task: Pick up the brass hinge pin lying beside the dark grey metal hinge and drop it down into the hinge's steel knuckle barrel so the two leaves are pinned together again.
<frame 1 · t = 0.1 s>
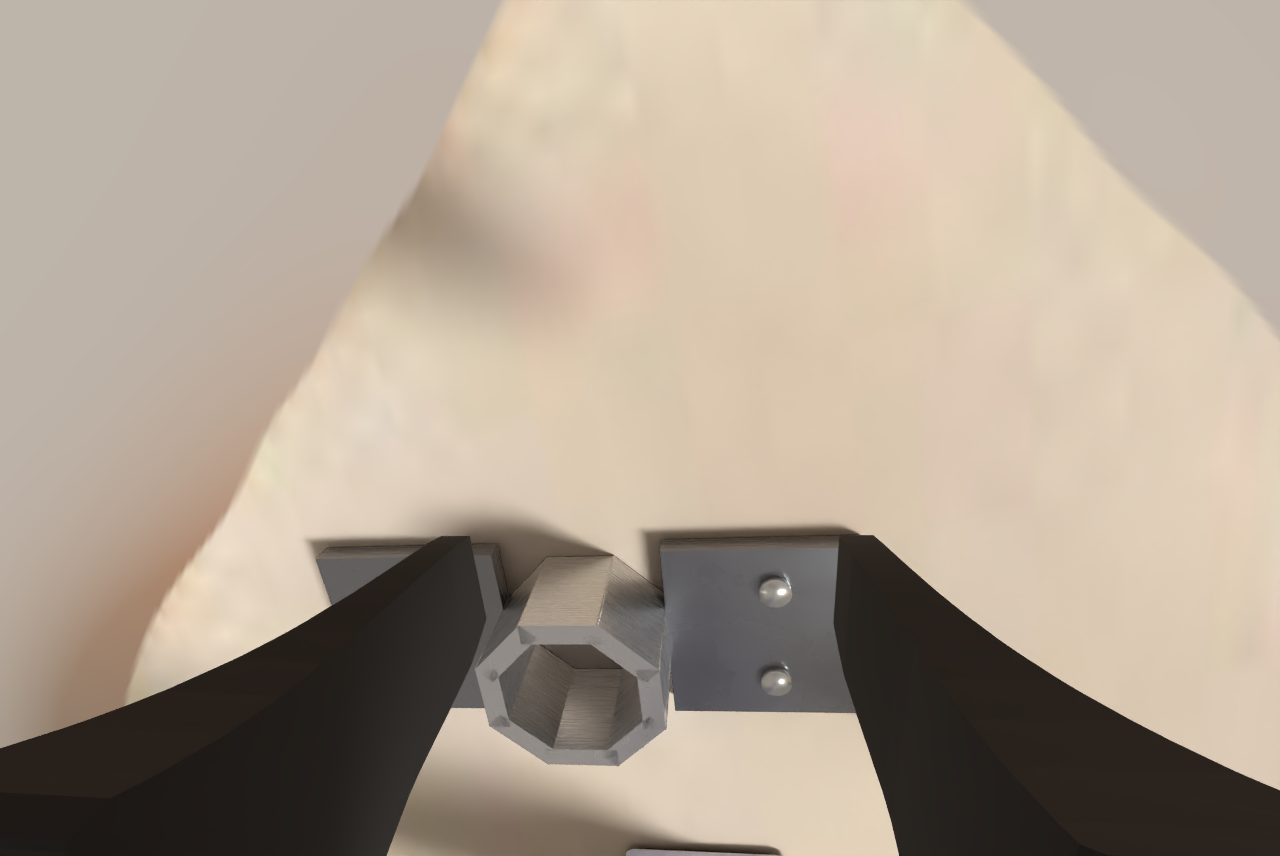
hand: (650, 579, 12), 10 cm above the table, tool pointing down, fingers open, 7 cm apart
hinge: (590, 622, 25), on the table
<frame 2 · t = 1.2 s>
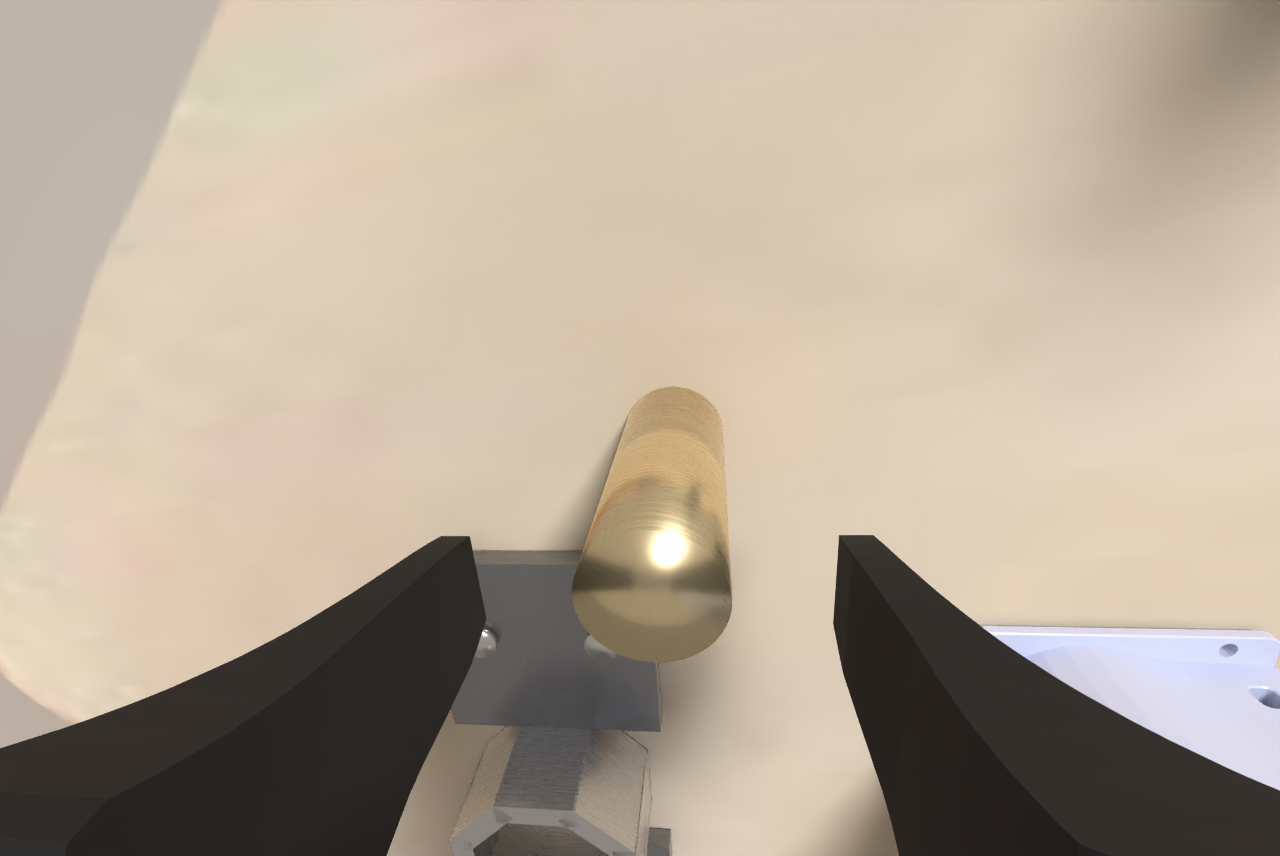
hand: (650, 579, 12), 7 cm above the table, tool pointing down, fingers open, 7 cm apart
hinge: (569, 770, 25), on the table
hinge pin: (673, 433, 19), on the table
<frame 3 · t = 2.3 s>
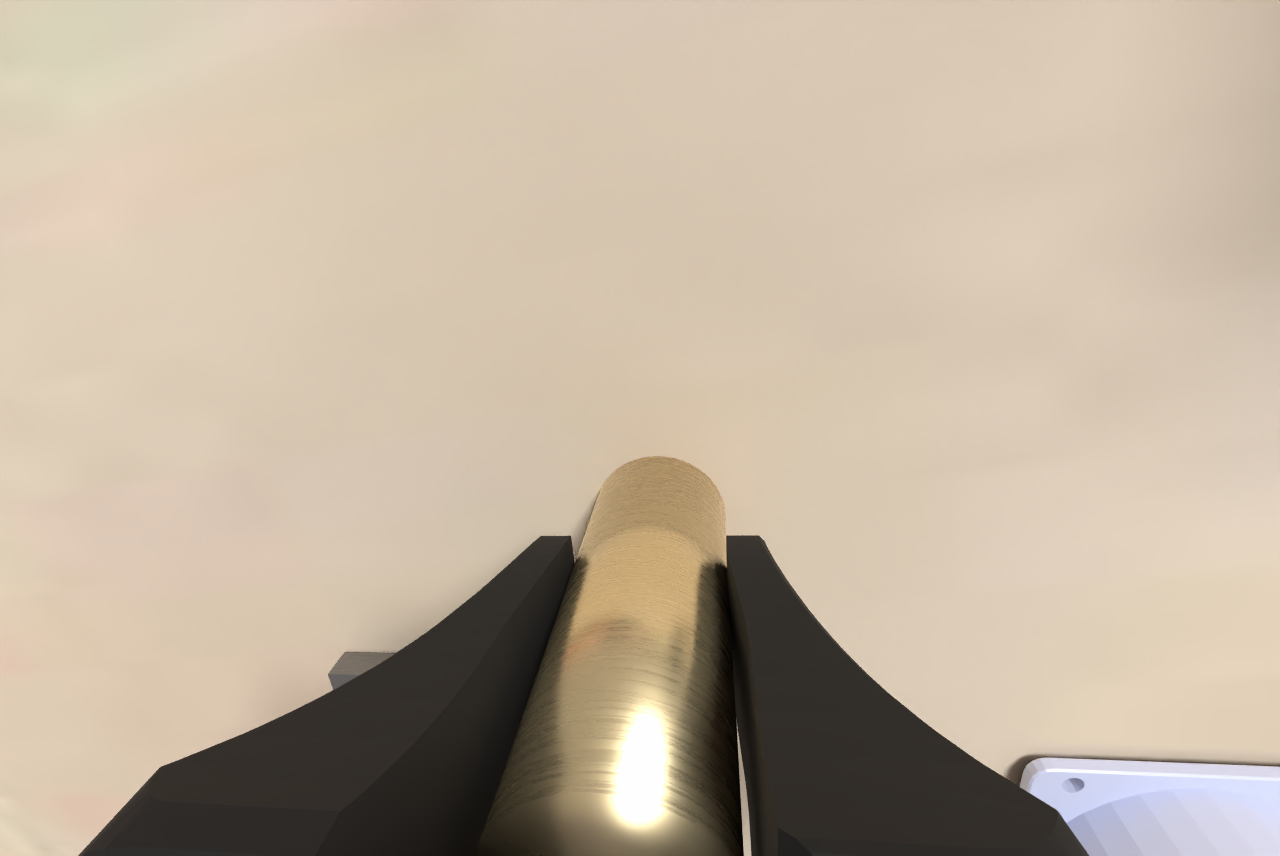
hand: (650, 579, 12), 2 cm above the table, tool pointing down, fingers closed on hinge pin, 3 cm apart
hinge pin: (659, 515, 14), on the table, touching gripper
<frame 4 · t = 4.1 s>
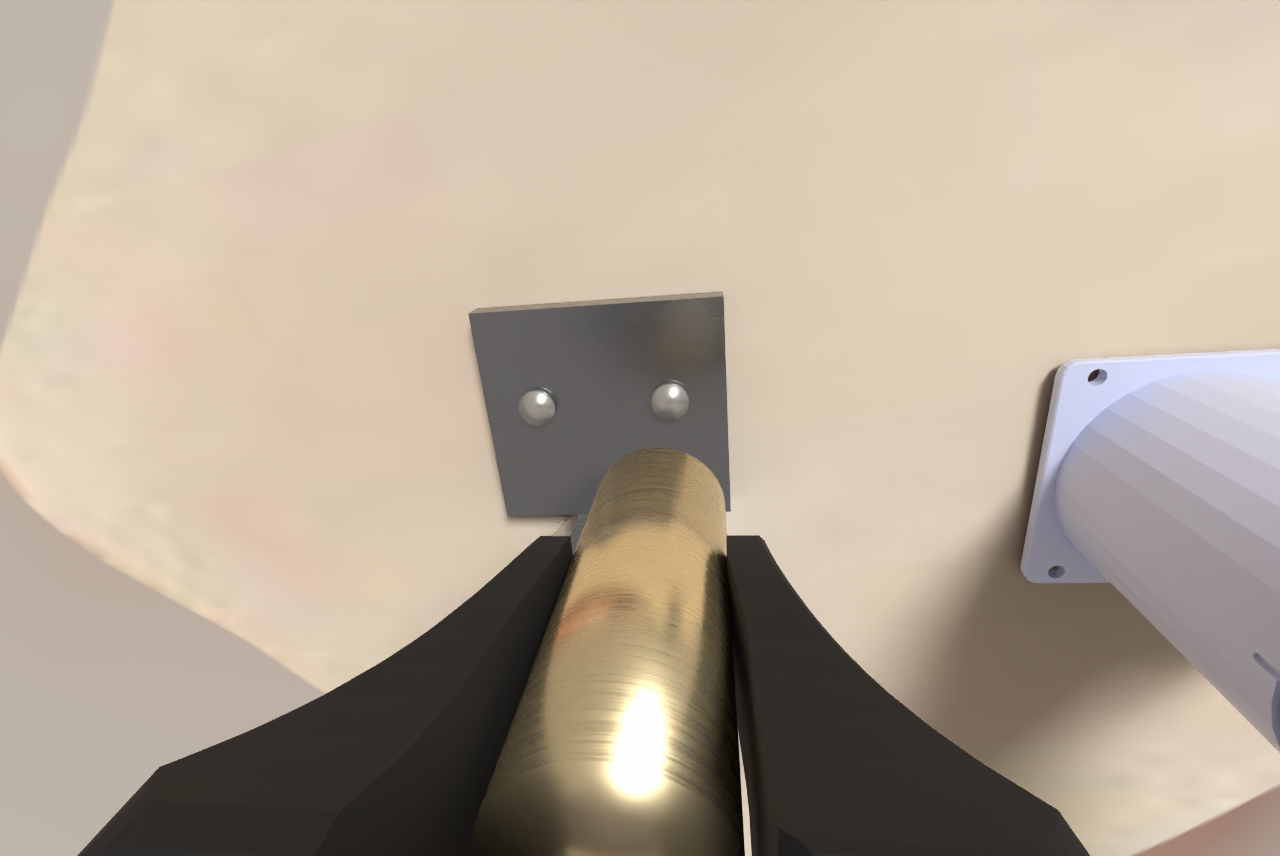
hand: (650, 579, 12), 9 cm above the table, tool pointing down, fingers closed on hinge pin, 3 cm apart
hinge: (627, 577, 23), on the table
hinge pin: (660, 506, 14), point 7 cm above the table, touching gripper
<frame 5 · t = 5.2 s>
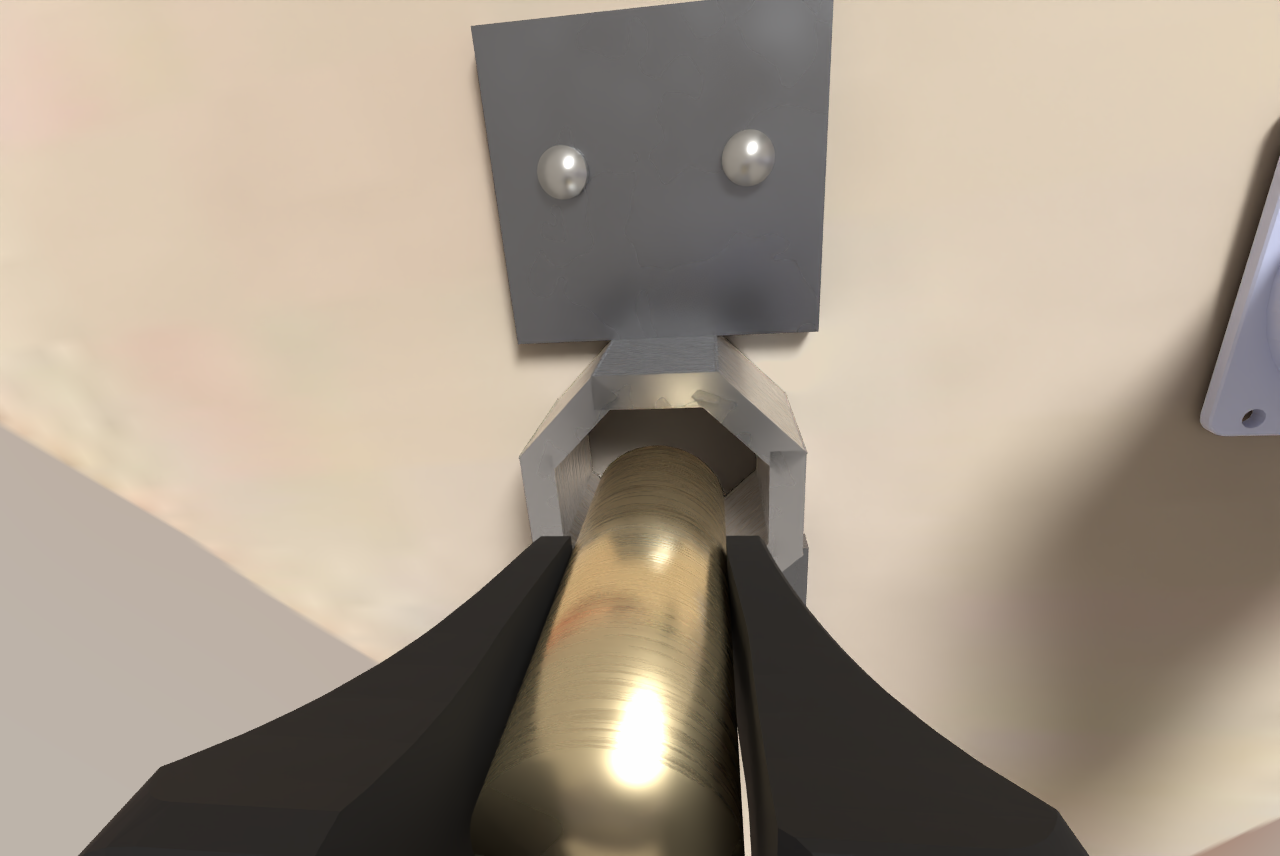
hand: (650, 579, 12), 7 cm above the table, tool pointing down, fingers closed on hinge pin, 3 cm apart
hinge: (671, 439, 18), on the table
hinge pin: (659, 505, 14), point 4 cm above the table, touching gripper
when the fingers open (5 cm above the table, at t = 5.8 s): hinge pin drops 3 cm, resting in hinge.
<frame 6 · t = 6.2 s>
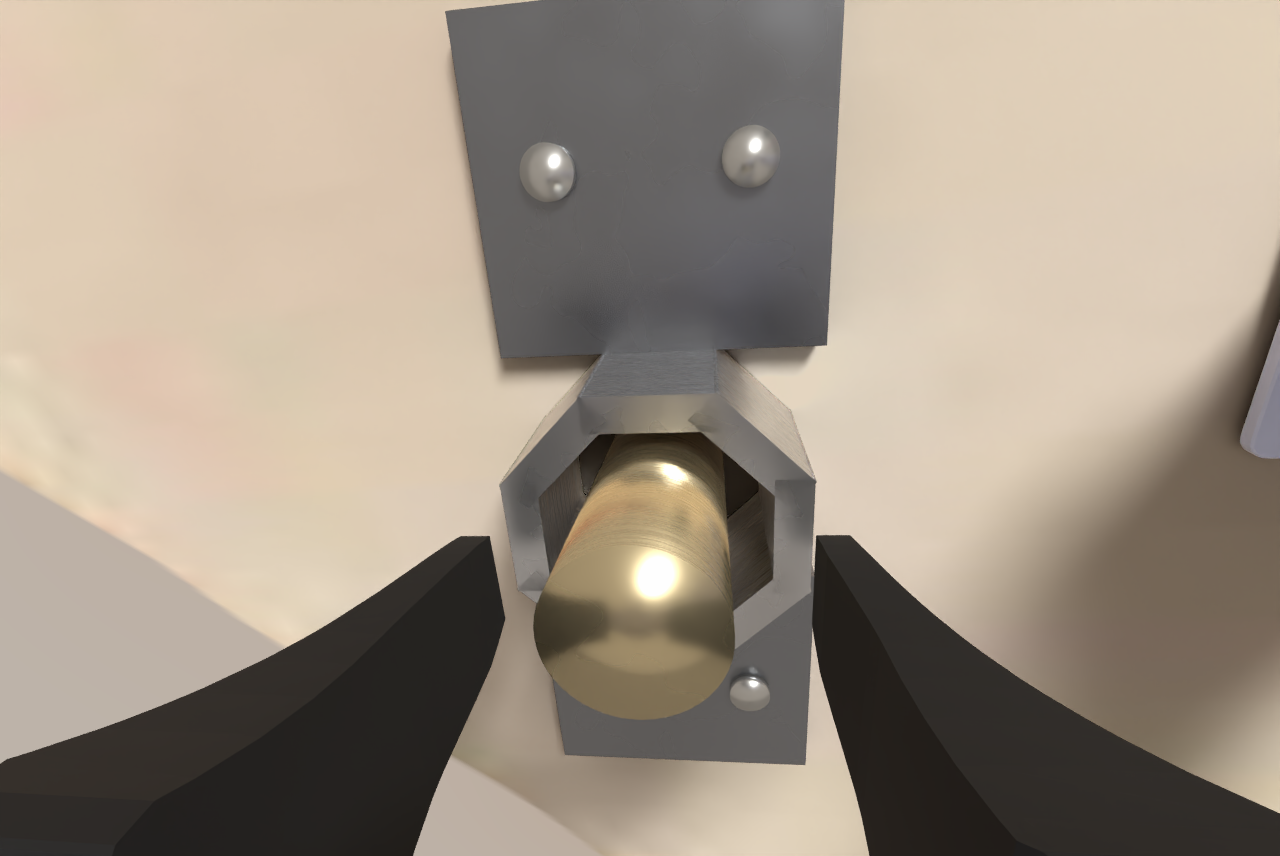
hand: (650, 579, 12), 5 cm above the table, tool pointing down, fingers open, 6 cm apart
hinge: (667, 459, 17), on the table
hinge pin: (667, 454, 16), resting in hinge, tilted 5°
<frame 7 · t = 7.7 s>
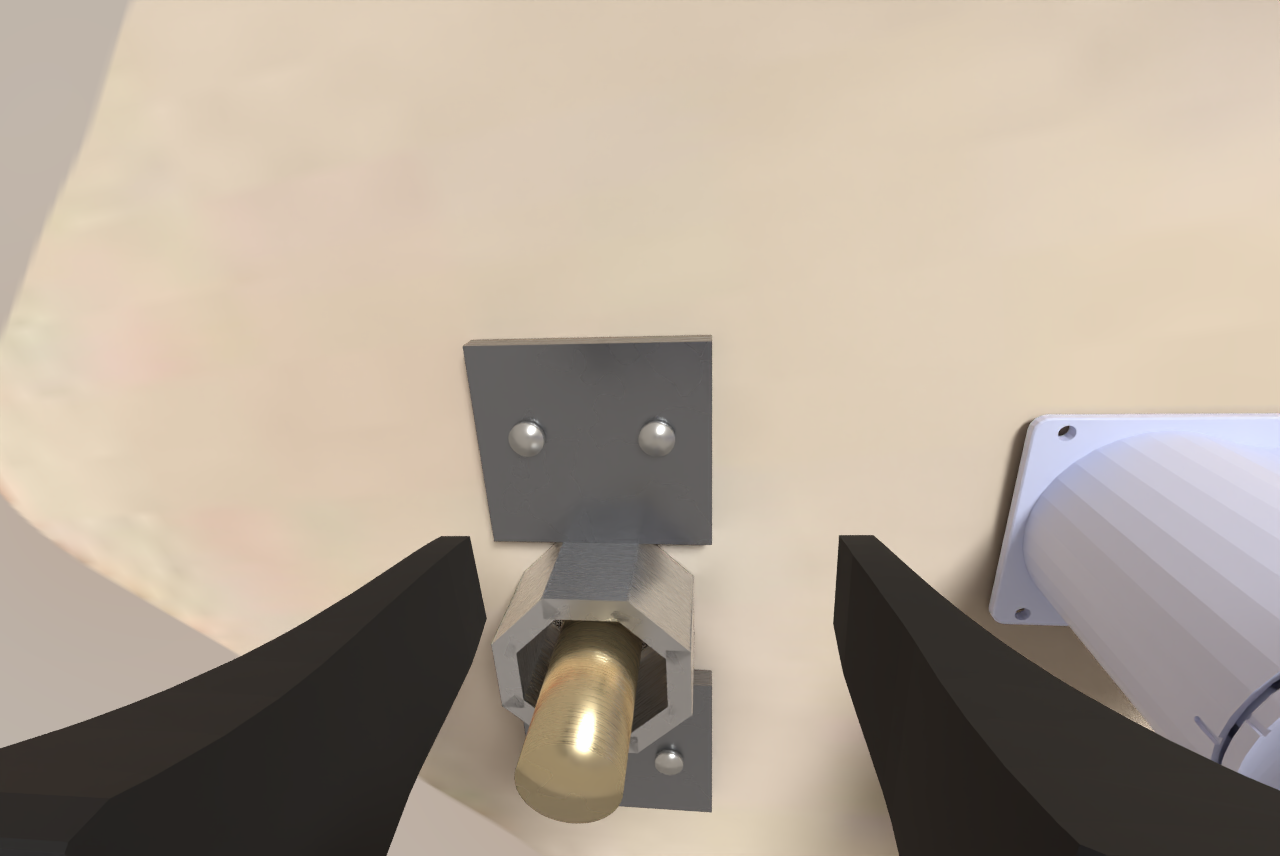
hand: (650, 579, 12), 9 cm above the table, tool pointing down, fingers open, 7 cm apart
hinge: (609, 602, 24), on the table
hinge pin: (609, 597, 24), resting in hinge
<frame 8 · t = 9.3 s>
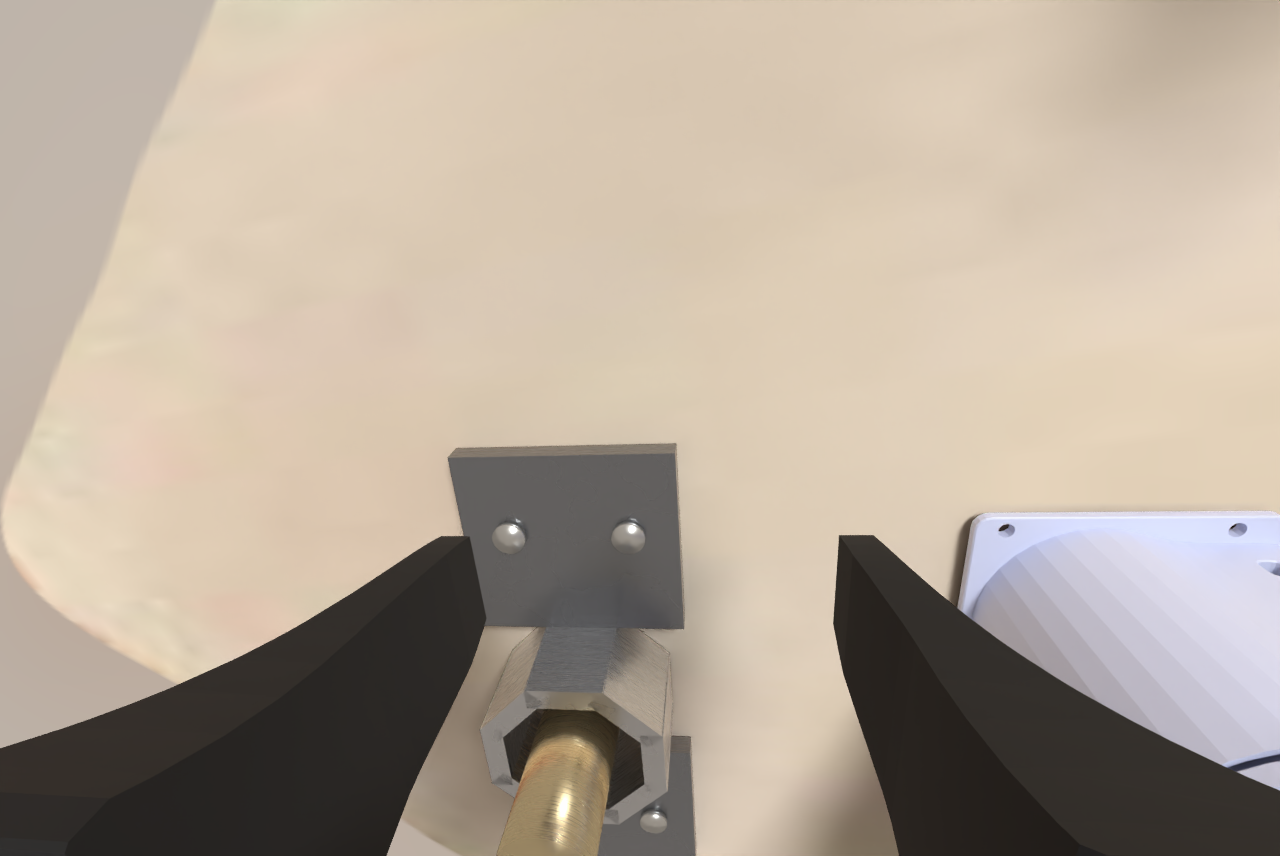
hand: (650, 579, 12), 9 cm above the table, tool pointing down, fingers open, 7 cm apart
hinge: (593, 676, 25), on the table
hinge pin: (593, 672, 25), resting in hinge
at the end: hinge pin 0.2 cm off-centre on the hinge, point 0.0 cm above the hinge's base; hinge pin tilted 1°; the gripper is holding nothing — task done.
